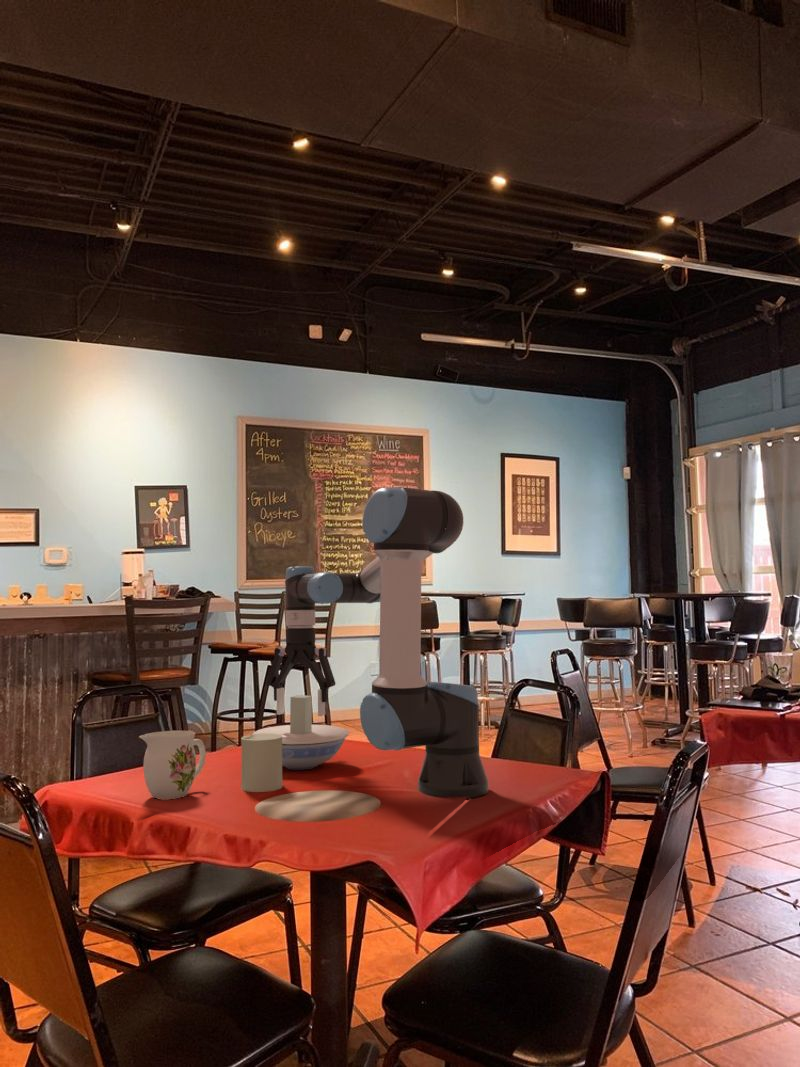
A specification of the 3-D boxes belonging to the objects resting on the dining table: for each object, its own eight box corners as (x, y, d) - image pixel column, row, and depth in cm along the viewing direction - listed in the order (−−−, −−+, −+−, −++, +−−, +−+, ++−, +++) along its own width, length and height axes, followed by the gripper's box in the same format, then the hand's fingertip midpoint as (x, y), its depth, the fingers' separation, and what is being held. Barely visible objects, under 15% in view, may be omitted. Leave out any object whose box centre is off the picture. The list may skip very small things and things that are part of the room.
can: (237, 787, 180) (238, 733, 181) (278, 784, 183) (278, 730, 184) (243, 796, 171) (244, 739, 173) (286, 792, 175) (286, 736, 176)
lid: (363, 729, 210) (363, 692, 210) (324, 747, 187) (324, 705, 188) (280, 724, 218) (281, 688, 218) (234, 740, 195) (234, 700, 196)
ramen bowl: (270, 781, 186) (270, 745, 186) (238, 765, 205) (238, 732, 206) (366, 769, 198) (366, 735, 199) (326, 755, 218) (326, 724, 219)
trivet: (398, 797, 168) (398, 794, 168) (350, 829, 145) (350, 825, 145) (291, 790, 177) (291, 787, 177) (230, 819, 153) (230, 815, 153)
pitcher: (221, 789, 178) (222, 726, 179) (157, 807, 163) (158, 738, 164) (187, 784, 184) (187, 723, 185) (122, 801, 169) (123, 734, 170)
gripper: (252, 627, 205) (252, 715, 203) (336, 627, 197) (336, 718, 196) (267, 627, 212) (267, 711, 210) (348, 626, 205) (349, 714, 203)
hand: (300, 714), depth 203 cm, fingers open, 11 cm apart
